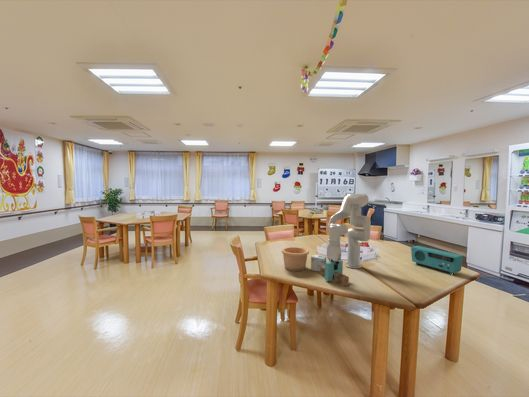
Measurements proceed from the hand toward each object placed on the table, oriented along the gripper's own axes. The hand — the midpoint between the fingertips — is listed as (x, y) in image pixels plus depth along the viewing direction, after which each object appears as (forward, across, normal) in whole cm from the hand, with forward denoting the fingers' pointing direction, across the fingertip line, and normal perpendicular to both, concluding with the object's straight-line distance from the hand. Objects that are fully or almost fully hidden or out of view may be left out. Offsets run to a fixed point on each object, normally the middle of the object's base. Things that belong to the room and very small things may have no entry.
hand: (333, 268), depth 168 cm
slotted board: (+8, 0, 0) cm, 8 cm away
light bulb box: (+8, -20, +4) cm, 22 cm away
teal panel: (+7, 0, 0) cm, 7 cm away
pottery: (+8, -34, -9) cm, 36 cm away
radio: (+8, +22, +89) cm, 92 cm away
